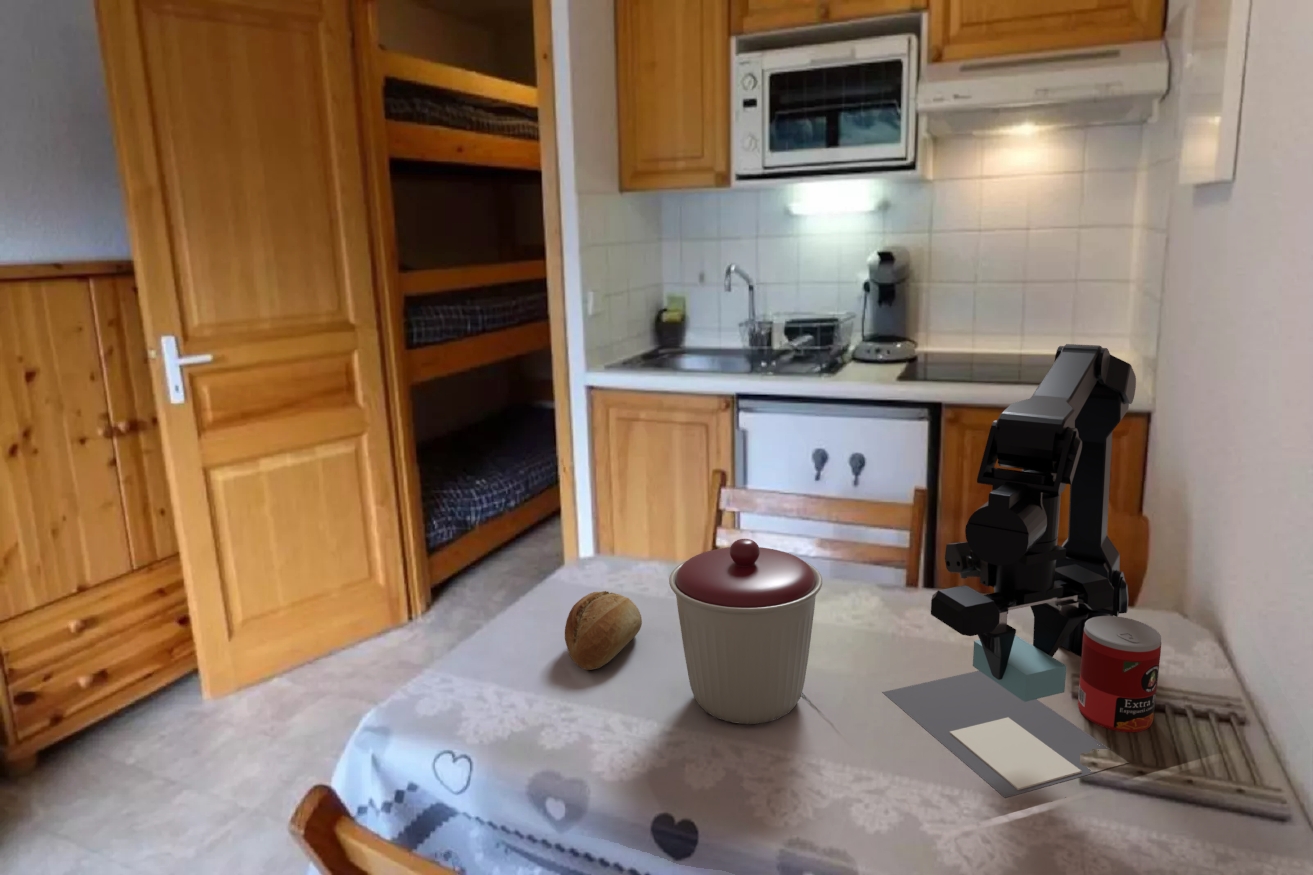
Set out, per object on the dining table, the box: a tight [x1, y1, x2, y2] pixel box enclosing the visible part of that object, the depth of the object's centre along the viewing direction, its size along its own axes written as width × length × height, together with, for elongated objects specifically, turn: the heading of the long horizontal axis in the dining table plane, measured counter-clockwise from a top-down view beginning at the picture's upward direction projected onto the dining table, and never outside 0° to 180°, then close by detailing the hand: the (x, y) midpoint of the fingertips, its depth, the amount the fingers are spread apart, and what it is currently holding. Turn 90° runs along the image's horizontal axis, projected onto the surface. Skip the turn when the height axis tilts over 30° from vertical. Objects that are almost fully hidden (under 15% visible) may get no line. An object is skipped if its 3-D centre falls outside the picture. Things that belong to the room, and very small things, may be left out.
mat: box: [882, 670, 1123, 799], centre depth 99 cm, size 16×22×1 cm
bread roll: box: [564, 590, 643, 671], centre depth 120 cm, size 10×15×8 cm, turn 162°
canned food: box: [1077, 616, 1162, 733], centre depth 99 cm, size 8×8×11 cm
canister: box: [668, 538, 823, 725], centre depth 104 cm, size 18×18×21 cm
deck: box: [972, 634, 1067, 702], centre depth 92 cm, size 8×5×3 cm, turn 18°
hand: (1017, 673), depth 92 cm, fingers closed on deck, 5 cm apart
